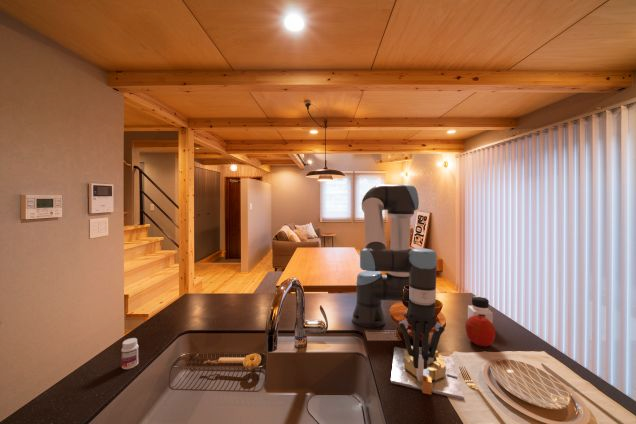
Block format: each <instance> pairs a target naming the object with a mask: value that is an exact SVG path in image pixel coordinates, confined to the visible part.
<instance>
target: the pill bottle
mask: <svg viewBox="0 0 636 424" xmlns="http://www.w3.org/2000/svg"><path fill="white" fill-rule="evenodd" d="M139 349H140V348H139V344H138V338H136V337H131V338H127V339H125V340H124V341H123V342H122V347H121V350H120V351H121V352H120V353H121V355H120V356H121V368H122V369H123V370H131V369H133V368H135V367H136V366H138V364H139V362H140V355H139V354H140V352H139Z"/></svg>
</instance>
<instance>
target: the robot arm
mask: <svg viewBox="0 0 636 424" xmlns="http://www.w3.org/2000/svg"><path fill="white" fill-rule="evenodd" d="M419 204H420V200H419V193H418V190H417V188H416V187H415V186H414V185H412V184H377V185H375V186H373V187H372V188H370V189H369V190H368V191H367V192H366V193H365V194H364V196H363V198H362V199H361V210H362V212H363V216H364V217H363V219H364V220H363V221H364V222H363V223H364V248H361V249H360V251H359V267H360V269H361V272H358V274H357V277H356V283H355V284H356V303H355V306H354V310H353V312H352V321H353V322H354V323H355V324H356V325H358V326H360V327H365V328H370V329H373V328H379V327H382V326H384V325H385V324H386V323H385V322H386V318H385V314H384V310H383V307H382V301H390V302H401V303H403V302H402V297H403V289H404V286H406V285H409V301H407V302H408V304H407V305H408V307H407V315H406V318H405V319H403V320H401V319H400V320H399V321H398V324H399V326H400V329H401V330H402V333H403V338H404V344H405V349H407V351H408V354H409V356H413V365H414V368H416V376H417V379H418V381H422V375H423V369H427V361H428V360H429V359H428V358H430V357H431V358H434V356H435V352H436V350H437V348H438V345H439V342H440V339H441V336H442V335H443V333H444V332H445V329H446V328H445V327H444V326H443V324H442V323H439V322H437V318H436V298H437V297H436V296H437V293H436V292H437V291H436V289H437V266H438V259H437V251H435V250H434V249H429V248H423V247H416V248H411V247H410V246H411V244H410V241H411V218H412V217H413V216H415V211H418V210H419ZM383 211H387V215H388V216H389V217H390V243H389V245H390V247H389V248H388V249H387V241H386V234H385V226H384V216H383ZM382 272H385V273H386V274H383V273H382ZM408 325H409V326H410V327H411V329H412V331H413V332H412V333H413V338H412V340H413V341H412V342H413V344H412V345H411V340H410V336H409V332H408V330H407V329H408V327H409V326H408ZM433 328H434V330H433V332H432V336H431V338H430V332H431V331H432V329H433ZM420 337H421V347H422V355H420V354H419V347H420ZM429 338H430V342H429ZM411 346H413V350H412V349H411Z"/></svg>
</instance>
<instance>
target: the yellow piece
mask: <svg viewBox="0 0 636 424" xmlns="http://www.w3.org/2000/svg"><path fill="white" fill-rule="evenodd" d="M419 348H420V346H419ZM411 349H412V350H413V345H411ZM442 356H443V355H441V354H439V350H437V349H436V352H435V356H434V362H433V365H431V366H430V365H427V369H423V375H422V390H421V391H422V392H421V393H422V394H427V395H430V396H431V395H432V393H433V392H432V381H431V380H433V379H434V380H437V379H439V378H441V377H444V376H445V375H446V365H445V361H444V358H443V357H442ZM404 367H405V368H406V369H407V370H408V371H410V372H411V373H412V374H414V375H415V376H416V368H414V365H413V356H409V354H408V351H407V350H405V358H404Z"/></svg>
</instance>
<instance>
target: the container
mask: <svg viewBox="0 0 636 424" xmlns="http://www.w3.org/2000/svg"><path fill="white" fill-rule="evenodd" d="M489 305H490V301H489V299H487V298H486V297H484V296H478V295H476V296H475V295H474V296H473V297H471V305H467V320H468V319H469V318H470V317H472V316H474V315H478V316H480V315H481V316H483V317H485V318H487V319H488V320H489V321H490V322H491V323H492V324H493V325H494V321H493V320H494V313H493V312H492V311H491V310H490V309H489Z"/></svg>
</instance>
